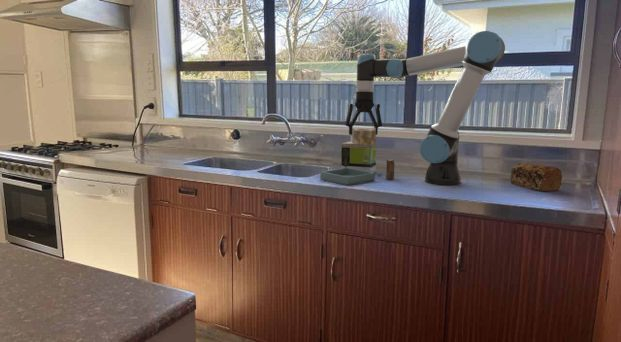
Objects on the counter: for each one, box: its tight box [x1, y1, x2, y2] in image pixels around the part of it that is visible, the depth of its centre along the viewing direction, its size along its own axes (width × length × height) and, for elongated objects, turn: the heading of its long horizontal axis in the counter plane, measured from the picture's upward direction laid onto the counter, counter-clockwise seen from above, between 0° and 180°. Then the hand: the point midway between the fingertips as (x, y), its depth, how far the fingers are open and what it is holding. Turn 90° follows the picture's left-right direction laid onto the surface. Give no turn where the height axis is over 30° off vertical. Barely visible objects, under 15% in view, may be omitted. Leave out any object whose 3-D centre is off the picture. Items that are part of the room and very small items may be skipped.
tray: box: [320, 168, 376, 187], centre depth 202 cm, size 18×17×4 cm
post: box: [385, 159, 395, 181], centre depth 205 cm, size 2×3×9 cm
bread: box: [509, 162, 563, 192], centre depth 189 cm, size 19×11×10 cm, turn 14°
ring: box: [354, 128, 377, 145], centre depth 199 cm, size 9×12×6 cm
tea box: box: [340, 141, 377, 173], centre depth 221 cm, size 15×10×15 cm
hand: (362, 142), depth 201 cm, fingers closed on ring, 9 cm apart
